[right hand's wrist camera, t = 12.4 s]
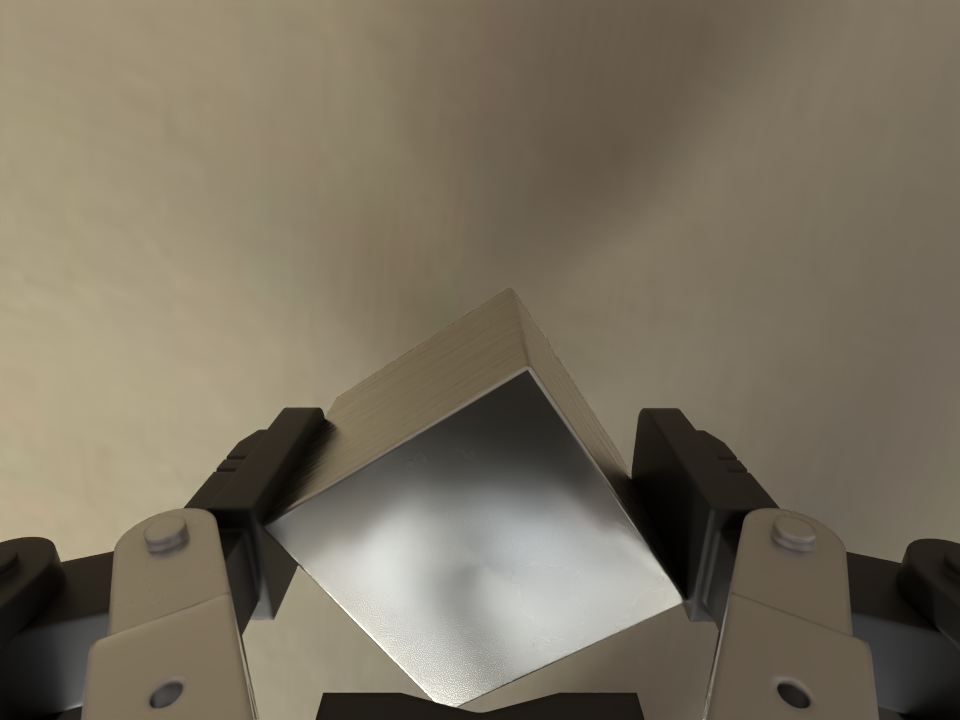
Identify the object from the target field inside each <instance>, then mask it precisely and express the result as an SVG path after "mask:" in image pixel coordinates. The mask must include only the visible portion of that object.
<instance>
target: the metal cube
mask: <svg viewBox="0 0 960 720" xmlns="http://www.w3.org/2000/svg"><path fill="white" fill-rule="evenodd" d="M263 528H264V530H265V531H266V532H267V533H268V534H269V535H270V536H271V537H272V538H273V539H274V540H275V541H276V542H277V543H278V544H279V545H280V546H281V547H282V549H283V550H284V551H285V552H286V553H287V554H288V555H289V556H290V557H291V558H292V559H293V560H294V561H295V562H296V563H297V564H298V565H299V566H300V567H301V568H302V569H303V570H304V571H305V572H306V573H307V574H308V575H309V576H310V577H311V578H312V579H313V580H314V581H315V582H316V583H317V584H318V585H319V586H320V587H321V588H322V589H323V590H324V591H325V592H326V593H327V594H328V595H329V596H330V597H331V598H332V599H333V600H334V601H335V602H336V603H337V604H338V605H339V606H340V607H341V608H342V609H343V610H344V611H345V612H346V613H347V614H348V615H349V616H350V617H351V618H352V619H353V620H354V621H355V622H356V623H357V624H358V625H359V626H360V627H361V628H362V629H363V630H364V631H365V632H366V633H367V634H368V635H369V636H370V637H371V638H372V640H373V641H374V642H375V643H376V644H377V645H378V646H379V647H380V648H381V649H382V650H383V651H384V652H385V653H386V654H387V655H388V656H389V657H390V658H391V659H392V660H393V661H394V662H395V663H396V664H397V665H398V666H399V667H400V668H401V669H402V670H403V671H404V672H405V673H406V674H407V675H408V676H409V677H410V678H411V679H412V680H413V681H414V682H415V683H416V684H417V685H418V686H419V687H420V688H421V689H422V690H423V691H424V692H425V693H426V694H427V695H428V696H429V697H430V698H431V699H432V700H433V701H434V702H437V703H441V704H444V705H448V706H452V707H459V706H461V705H463V704H465V703H467V702H469V701H472V700H474V699H476V698H478V697H480V696H482V695H485V694H487V693H489V692H491V691H493V690H496V689H498V688H500V687H502V686H504V685H506V684H509V683H511V682H513V681H515V680H517V679H519V678H522V677H524V676H526V675H528V674H530V673H532V672H535V671H537V670H539V669H541V668H543V667H546V666H548V665H550V664H552V663H554V662H556V661H559V660H561V659H563V658H565V657H567V656H569V655H572V654H574V653H576V652H578V651H580V650H583V649H585V648H587V647H589V646H591V645H593V644H596V643H598V642H600V641H602V640H604V639H606V638H609V637H611V636H613V635H615V634H617V633H619V632H622V631H624V630H626V629H628V628H630V627H633V626H635V625H637V624H639V623H641V622H643V621H646V620H648V619H650V618H652V617H654V616H656V615H659V614H661V613H663V612H665V611H667V610H669V609H672V608H674V607H676V606H678V605H680V604H683V603H685V602H686V600H687V599H686V594H685V592H684V590H683V588H682V585H681V583H680V581H679V579H678V577H677V575H676V573H675V570H674V568H673V566H672V564H671V562H670V560H669V558H668V556H667V553H666V551H665V549H664V547H663V545H662V543H661V541H660V538H659V536H658V534H657V532H656V530H655V528H654V526H653V524H652V521H651V519H650V517H649V515H648V513H647V511H646V509H645V506H644V504H643V502H642V500H641V498H640V496H639V494H638V492H637V489H636V487H635V485H634V483H633V481H632V478H631V476H630V474H629V472H628V470H627V468H626V466H625V463H624V461H623V459H622V457H621V455H620V453H619V451H618V450H617V448H616V447H615V445H614V444H613V442H612V441H611V439H610V437H609V436H608V434H607V433H606V431H605V430H604V428H603V427H602V425H601V424H600V422H599V420H598V419H597V417H596V416H595V414H594V413H593V411H592V410H591V408H590V407H589V405H588V403H587V402H586V400H585V399H584V397H583V396H582V394H581V393H580V391H579V390H578V388H577V386H576V385H575V383H574V382H573V380H572V379H571V377H570V376H569V374H568V373H567V371H566V370H565V368H564V366H563V365H562V363H561V362H560V360H559V359H558V357H557V356H556V354H555V353H554V351H553V349H552V348H551V346H550V345H549V343H548V342H547V340H546V339H545V337H544V336H543V334H542V332H541V331H540V329H539V328H538V326H537V325H536V323H535V322H534V320H533V319H532V317H531V315H530V314H529V312H528V311H527V309H526V308H525V306H524V305H523V303H522V302H521V300H520V298H519V297H518V295H517V294H516V292H515V291H514V289H512V288H508V289H506V290H505V291H503V292H502V293H500V294H498V295H497V296H495V297H494V298H492V299H491V300H489V301H488V302H486V303H484V304H483V305H481V306H480V307H478V308H477V309H475V310H473V311H472V312H470V313H469V314H467V315H466V316H464V317H462V318H461V319H459V320H458V321H456V322H455V323H453V324H451V325H450V326H448V327H447V328H445V329H444V330H442V331H441V332H439V333H437V334H436V335H434V336H433V337H431V338H430V339H428V340H426V341H425V342H423V343H422V344H420V345H419V346H417V347H415V348H414V349H412V350H411V351H409V352H408V353H406V354H405V355H403V356H401V357H400V358H398V359H397V360H395V361H394V362H392V363H390V364H389V365H387V366H386V367H384V368H383V369H381V370H379V371H378V372H376V373H375V374H373V375H372V376H370V377H368V378H367V379H365V380H364V381H362V382H361V383H359V384H358V385H356V386H354V387H353V388H351V389H350V390H348V391H347V392H345V393H343V394H342V395H340V396H339V397H337V399H336V400H335V402H334V404H333V405H332V407H331V409H330V410H329V412H328V414H327V415H326V417H325V419H324V421H323V422H322V424H321V426H320V427H319V429H318V431H317V432H316V434H315V436H314V437H313V439H312V441H311V443H310V444H309V446H308V448H307V449H306V451H305V453H304V454H303V456H302V458H301V459H300V461H299V463H298V464H297V466H296V468H295V469H294V471H293V473H292V474H291V476H290V478H289V479H288V481H287V483H286V484H285V486H284V488H283V490H282V491H281V493H280V495H279V496H278V498H277V500H276V501H275V503H274V505H273V506H272V508H271V510H270V511H269V513H268V515H267V516H266V518H265V520H264V523H263Z"/></svg>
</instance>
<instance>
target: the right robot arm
mask: <svg viewBox="0 0 960 720" xmlns="http://www.w3.org/2000/svg"><path fill="white" fill-rule="evenodd" d="M324 419H325V417H324V413H323V411H322V409H321V408H284V409H283V410H282V411H281V413H280V414H279V415H278V417H277V418H276V419H275V420H274V422H273V423H272V424H271V426H270V427H269V428H268V429H267V430H258V431H256V432H255V433H253V434H251V435H250V436H248V437H247V438H245V439H243V440H242V441H240V442H239V443H238V444H237V445H236V446H235V447H234V449H233V450H232V451H231V452H230V453H229V455H228V456H227V460H224V461H223V462H222V463H221V464H220V465H219V467H218V468H217V471H216V472H213V474H212V475H211V476H210V477H209V478H208V480H207V481H206V482H205V483H204V484H203V486H202V487H201V488H200V489H199V490H198V492H197V493H196V494H195V495H194V496H193V497H192V499H191V500H190V501H189V502H188V503H187V505H186V506H185V507H184V508H182V509H176V510H171V511H167V512H164V513H160V514H157V515H155V516H153V517H150V518H148V519H146V520H144V521H142V522H140V523H139V524H137V525H136V526H134V527H133V528H131V529H130V530H129V531H127V532H126V533H125V534H124V535H123V536H122V537H121V539H120V540H119V541H118V543H117V545H116V546H115V550H114V551H113V552H108V553H104V554H99V555H94V556H89V557H84V558H79V559H75V560H70V561H65V562H61V561H60V558H59V556H58V553H57V550H56V547H55V545H54V544H53V542H52V541H50V540H48V539H45V538H41V537H25V538H17V539H12V540H8V541H4V542H1V543H0V720H259V716H258V711H257V706H256V701H255V697H254V692H253V687H252V682H251V677H250V672H249V667H248V662H247V657H246V652H245V647H244V642H243V638H242V634H243V632H244V630H245V628H246V626H247V624H248V622H249V620H274V618H275V616H276V614H277V612H278V609H279V607H280V605H281V603H282V600H283V598H284V596H285V593H286V591H287V589H288V587H289V584H290V582H291V580H292V578H293V575H294V573H295V571H296V569H297V566H298V564H297V563H296V562H295V561H294V560H293V559H292V558H291V557H290V556H289V555H288V554H287V553H286V552H285V551H284V550H283V549H282V547H281V546H280V545H279V544H278V543H277V542H276V541H275V540H274V539H273V538H272V537H271V536H270V535H269V534H268V533H267V532H266V531H265V530H264V528H263V523H264V520H265V518H266V516H267V515H268V513H269V511H270V510H271V508H272V506H273V505H274V503H275V501H276V500H277V498H278V496H279V495H280V493H281V491H282V490H283V488H284V486H285V484H286V483H287V481H288V479H289V478H290V476H291V474H292V473H293V471H294V469H295V468H296V466H297V464H298V463H299V461H300V459H301V458H302V456H303V454H304V453H305V451H306V449H307V448H308V446H309V444H310V443H311V441H312V439H313V437H314V436H315V434H316V432H317V431H318V429H319V427H320V426H321V424H322V422H323V421H324ZM632 481H633V483H634V485H635V487H636V489H637V492H638V494H639V496H640V498H641V500H642V502H643V504H644V506H645V509H646V511H647V513H648V515H649V517H650V519H651V521H652V524H653V526H654V528H655V530H656V532H657V534H658V536H659V538H660V541H661V543H662V545H663V547H664V549H665V551H666V553H667V556H668V558H669V560H670V562H671V564H672V566H673V568H674V570H675V573H676V575H677V577H678V579H679V581H680V583H681V585H682V588H683V590H684V592H685V594H686V599H687V600H686V602H685V603H683V604H682V605H683V607H684V609H685V611H686V613H687V616H688V618H689V620H690V621H714V622H715V624H716V626H717V628H718V630H719V634H718V638H717V643H716V647H715V652H714V657H713V662H712V667H711V672H710V677H709V682H708V687H707V692H706V697H705V702H704V706H703V711H702V716H701V720H960V544H959V543H955V542H951V541H946V540H940V539H919V540H916V541H913V542H912V543H910V544H909V546H908V547H907V549H906V552H905V555H904V558H903V560H902V563H897V562H893V561H888V560H883V559H878V558H873V557H869V556H864V555H859V554H854V553H850V552H846V550H845V546H844V545H843V543H842V541H841V540H840V539H839V537H838V536H837V535H836V534H835V533H834V532H833V531H831V530H830V529H829V528H827V527H826V526H824V525H823V524H821V523H820V522H818V521H816V520H814V519H812V518H810V517H807V516H805V515H803V514H800V513H796V512H793V511H789V510H784V509H780V508H779V507H778V505H777V504H776V503H775V502H774V501H773V500H772V498H771V497H770V496H769V495H768V494H767V493H766V491H765V490H764V489H763V488H762V487H761V485H760V484H759V483H758V482H757V481H756V480H755V478H754V477H753V476H752V475H751V474H750V473H747V469H746V468H745V467H744V465H743V464H742V463H741V462H740V461H739V460H737V457H736V456H735V455H734V454H733V453H732V451H731V450H730V449H729V448H728V447H727V445H726V444H725V443H724V442H722V441H720V440H719V439H717V438H715V437H714V436H712V435H711V434H709V433H707V432H706V431H696V430H695V428H694V427H693V426H692V425H691V423H690V422H689V421H688V419H687V418H686V417H685V416H684V414H683V413H682V412H681V411H680V410H679V409H678V408H643V409H642V410H641V411H640V414H639V417H638V424H637V432H636V440H635V448H634V456H633V465H632ZM316 720H644V716H643V713H642V710H641V706H640V703H639V699H638V696H637V693H557V694H553V695H549V696H546V697H542V698H538V699H534V700H531V701H527V702H523V703H519V704H516V705H512V706H508V707H504V708H501V709H497V710H493V711H489V712H484V713H476V712H471V711H467V710H463V709H459V708H456V707H452V706H448V705H444V704H441V703H437V702H433V701H429V700H426V699H422V698H418V697H414V696H411V695H407V694H403V693H323V696H322V699H321V703H320V706H319V710H318V713H317V716H316Z"/></svg>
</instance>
